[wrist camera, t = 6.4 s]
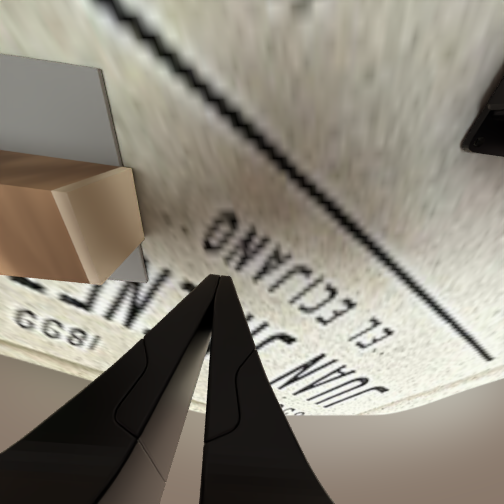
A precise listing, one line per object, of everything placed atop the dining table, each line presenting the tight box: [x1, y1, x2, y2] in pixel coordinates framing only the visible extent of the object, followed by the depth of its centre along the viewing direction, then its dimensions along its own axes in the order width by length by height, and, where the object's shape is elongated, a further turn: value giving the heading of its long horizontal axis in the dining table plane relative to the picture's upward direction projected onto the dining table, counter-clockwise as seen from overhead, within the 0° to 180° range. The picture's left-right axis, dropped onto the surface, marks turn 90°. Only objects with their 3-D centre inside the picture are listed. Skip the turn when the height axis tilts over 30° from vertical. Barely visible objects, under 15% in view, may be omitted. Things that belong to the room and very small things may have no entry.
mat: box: [0, 54, 148, 283], centre depth 13 cm, size 12×14×1 cm
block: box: [0, 150, 145, 285], centre depth 11 cm, size 5×5×9 cm
